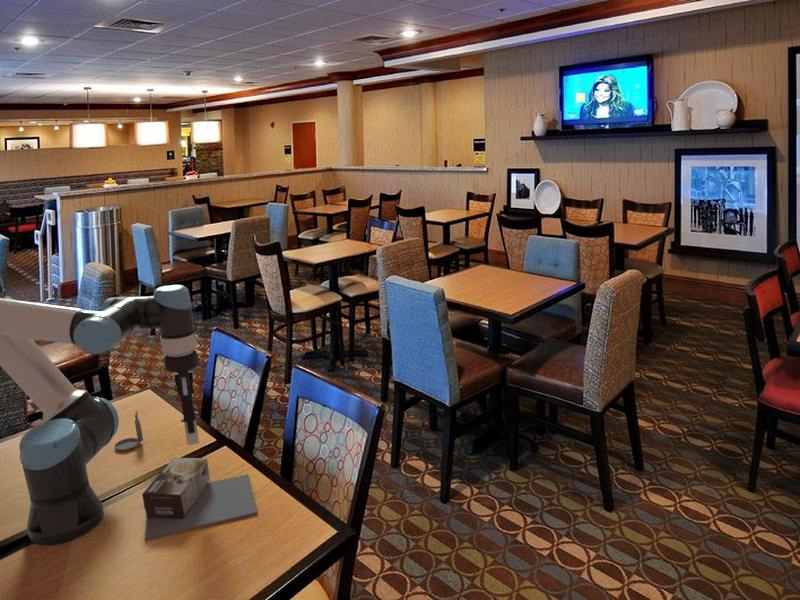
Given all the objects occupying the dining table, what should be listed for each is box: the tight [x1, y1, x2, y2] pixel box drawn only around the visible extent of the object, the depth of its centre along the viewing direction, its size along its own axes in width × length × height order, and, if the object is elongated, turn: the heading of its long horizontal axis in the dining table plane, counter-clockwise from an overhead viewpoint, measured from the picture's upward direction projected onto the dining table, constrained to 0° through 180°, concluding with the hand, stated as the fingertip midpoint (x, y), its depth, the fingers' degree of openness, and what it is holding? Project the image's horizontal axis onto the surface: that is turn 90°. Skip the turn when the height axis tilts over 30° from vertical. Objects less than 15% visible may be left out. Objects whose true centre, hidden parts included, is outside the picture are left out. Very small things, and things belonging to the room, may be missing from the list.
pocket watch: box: [114, 410, 144, 452], centre depth 170 cm, size 8×8×10 cm
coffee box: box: [141, 457, 211, 518], centre depth 143 cm, size 9×6×16 cm
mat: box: [144, 473, 259, 542], centre depth 142 cm, size 24×18×1 cm
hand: (193, 442), depth 146 cm, fingers closed
